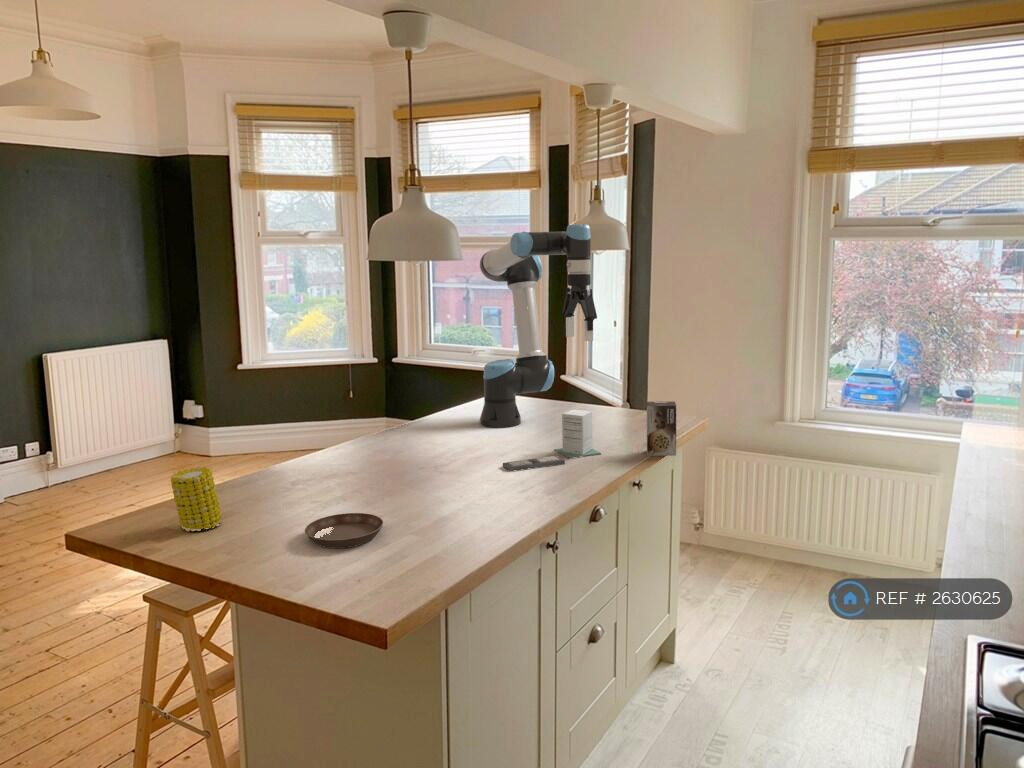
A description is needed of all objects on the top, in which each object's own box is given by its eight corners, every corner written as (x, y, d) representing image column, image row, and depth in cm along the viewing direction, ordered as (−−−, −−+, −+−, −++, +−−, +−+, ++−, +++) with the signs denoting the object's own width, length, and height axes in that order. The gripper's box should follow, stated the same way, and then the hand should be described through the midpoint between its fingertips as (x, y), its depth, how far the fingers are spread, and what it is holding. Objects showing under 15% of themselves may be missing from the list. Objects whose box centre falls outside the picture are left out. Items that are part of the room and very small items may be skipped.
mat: (554, 450, 252) (554, 449, 252) (584, 446, 256) (584, 445, 256) (569, 458, 242) (569, 457, 242) (601, 454, 246) (601, 453, 246)
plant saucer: (291, 538, 181) (290, 525, 180) (356, 518, 193) (355, 506, 192) (332, 559, 168) (331, 545, 168) (399, 536, 181) (398, 524, 180)
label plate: (502, 466, 235) (502, 462, 234) (556, 459, 241) (556, 454, 241) (509, 471, 230) (509, 466, 229) (564, 463, 236) (564, 459, 236)
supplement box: (572, 447, 254) (572, 409, 252) (593, 449, 250) (592, 411, 248) (561, 452, 248) (561, 413, 246) (582, 455, 244) (582, 415, 242)
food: (222, 536, 187) (177, 543, 185) (224, 510, 197) (181, 516, 195) (212, 480, 181) (165, 487, 178) (215, 457, 191) (170, 463, 189)
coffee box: (675, 451, 248) (676, 401, 246) (676, 456, 242) (677, 405, 239) (646, 450, 250) (646, 400, 247) (646, 455, 243) (646, 404, 241)
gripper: (552, 272, 263) (552, 335, 267) (586, 274, 240) (586, 343, 244) (572, 271, 266) (572, 334, 269) (607, 273, 243) (607, 341, 247)
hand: (579, 338), depth 257 cm, fingers open, 13 cm apart
